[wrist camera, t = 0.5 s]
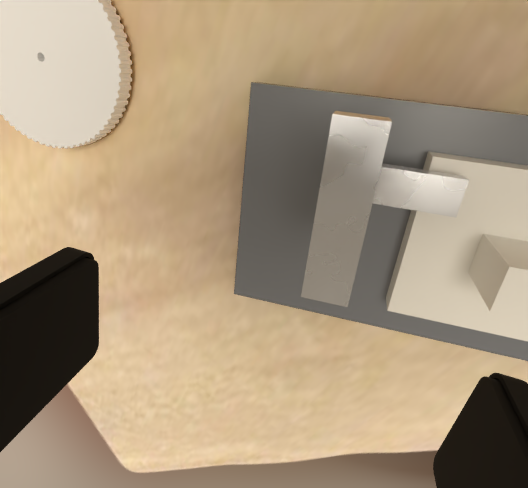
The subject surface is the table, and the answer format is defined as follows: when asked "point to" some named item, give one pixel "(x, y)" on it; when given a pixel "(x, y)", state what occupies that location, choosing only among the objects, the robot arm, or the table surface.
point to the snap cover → (469, 252)
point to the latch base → (381, 217)
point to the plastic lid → (63, 69)
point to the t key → (364, 200)
